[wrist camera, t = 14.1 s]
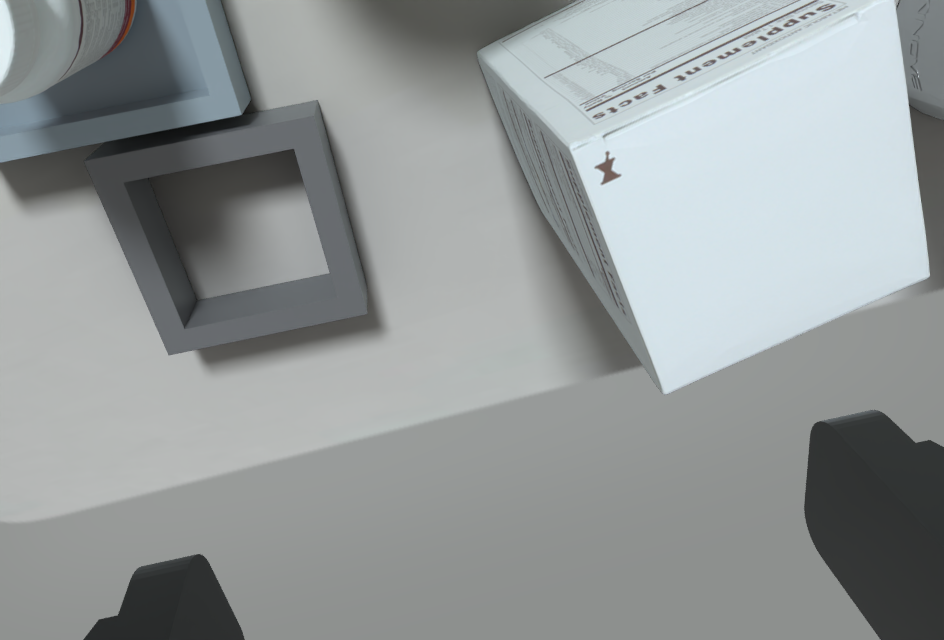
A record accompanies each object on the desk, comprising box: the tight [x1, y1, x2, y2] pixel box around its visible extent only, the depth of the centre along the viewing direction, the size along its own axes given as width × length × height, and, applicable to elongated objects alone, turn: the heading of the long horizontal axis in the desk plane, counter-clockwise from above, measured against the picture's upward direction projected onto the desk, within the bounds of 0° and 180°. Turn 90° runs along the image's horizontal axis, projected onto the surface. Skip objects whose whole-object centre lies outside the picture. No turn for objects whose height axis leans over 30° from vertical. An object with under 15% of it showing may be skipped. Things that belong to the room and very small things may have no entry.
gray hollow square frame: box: [84, 100, 367, 355], centre depth 35 cm, size 10×10×3 cm
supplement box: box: [477, 0, 930, 395], centre depth 28 cm, size 10×9×17 cm
